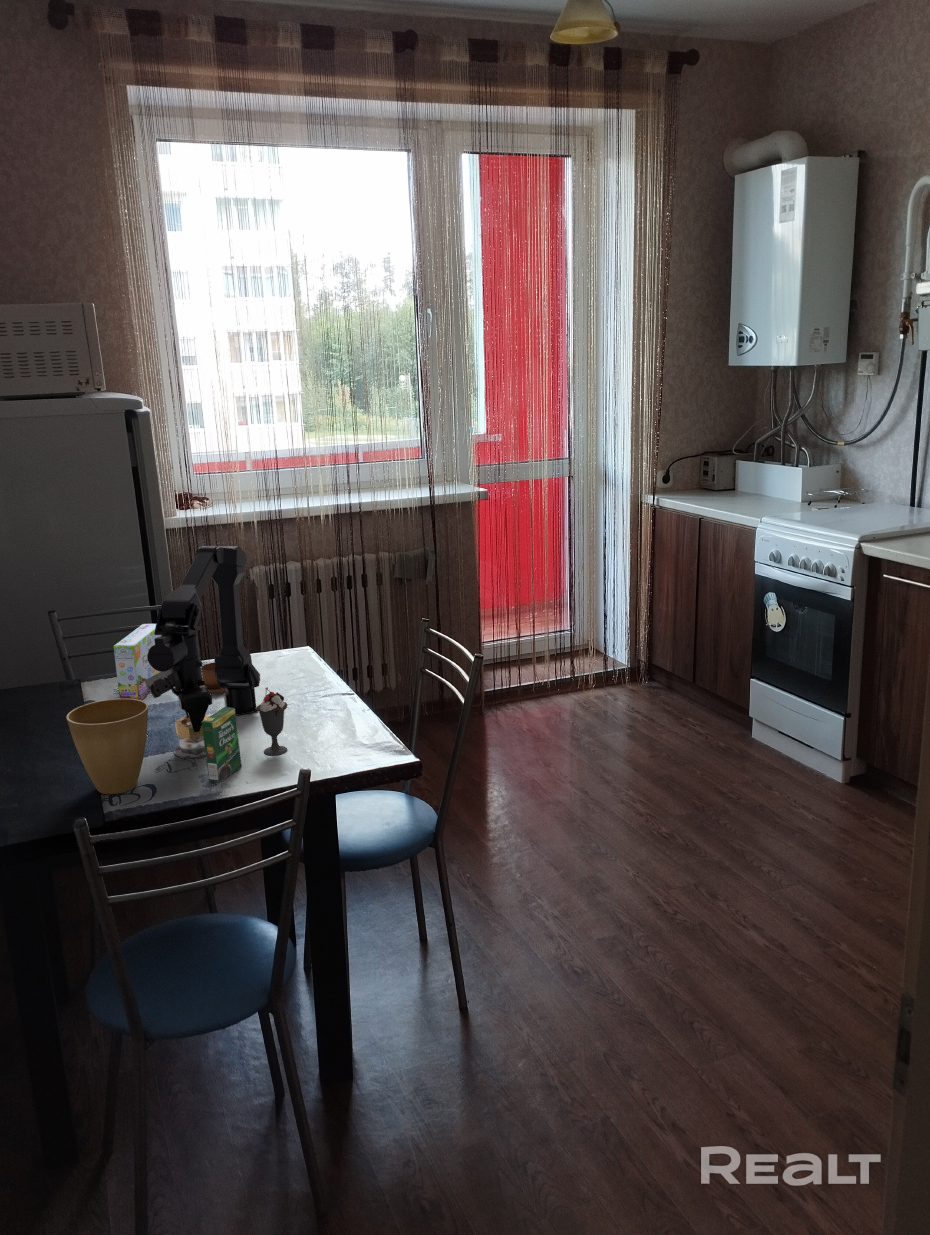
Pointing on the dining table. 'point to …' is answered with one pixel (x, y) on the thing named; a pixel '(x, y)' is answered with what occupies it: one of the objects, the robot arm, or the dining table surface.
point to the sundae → (273, 720)
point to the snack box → (135, 662)
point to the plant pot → (111, 741)
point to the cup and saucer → (210, 678)
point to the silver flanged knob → (191, 747)
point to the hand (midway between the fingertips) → (193, 726)
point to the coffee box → (221, 744)
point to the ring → (187, 728)
